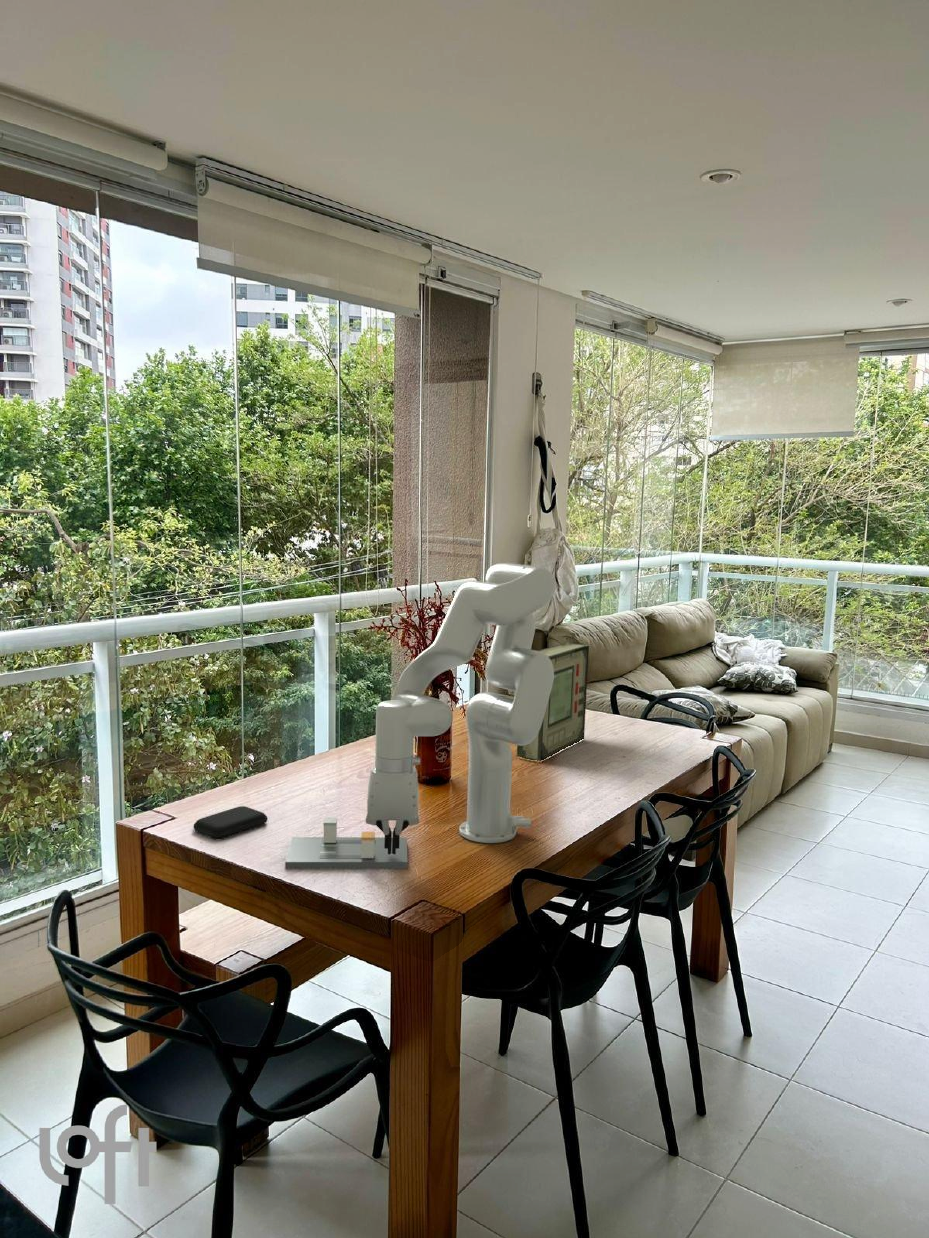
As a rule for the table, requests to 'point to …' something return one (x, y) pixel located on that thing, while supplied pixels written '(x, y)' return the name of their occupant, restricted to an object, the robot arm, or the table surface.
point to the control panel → (562, 703)
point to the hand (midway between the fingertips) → (391, 851)
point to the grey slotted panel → (343, 854)
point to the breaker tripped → (367, 844)
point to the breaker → (330, 829)
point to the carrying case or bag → (230, 822)
